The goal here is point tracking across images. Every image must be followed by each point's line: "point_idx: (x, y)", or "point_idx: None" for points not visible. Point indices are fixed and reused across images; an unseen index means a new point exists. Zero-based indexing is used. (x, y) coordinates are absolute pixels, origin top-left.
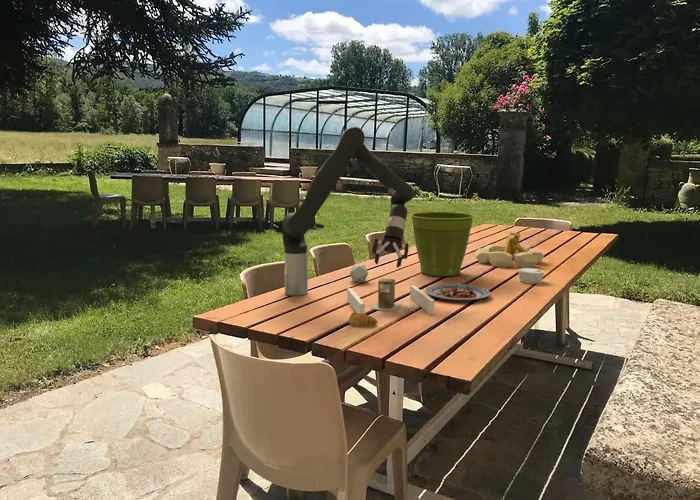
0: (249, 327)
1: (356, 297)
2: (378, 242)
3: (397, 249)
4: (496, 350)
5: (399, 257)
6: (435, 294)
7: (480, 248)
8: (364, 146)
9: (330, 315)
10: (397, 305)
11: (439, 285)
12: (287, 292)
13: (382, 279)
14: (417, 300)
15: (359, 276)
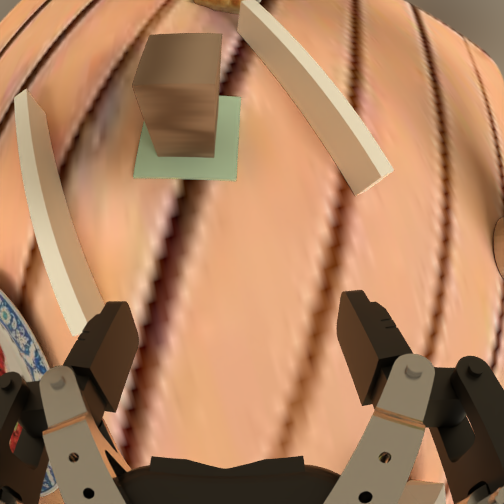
0: (412, 6)
1: (295, 45)
2: (498, 499)
3: (77, 468)
4: (11, 11)
5: (80, 382)
6: (15, 338)
7: None
8: None
9: (334, 41)
10: (145, 155)
11: (46, 481)
12: None
13: (206, 61)
14: (66, 219)
15: (405, 488)
